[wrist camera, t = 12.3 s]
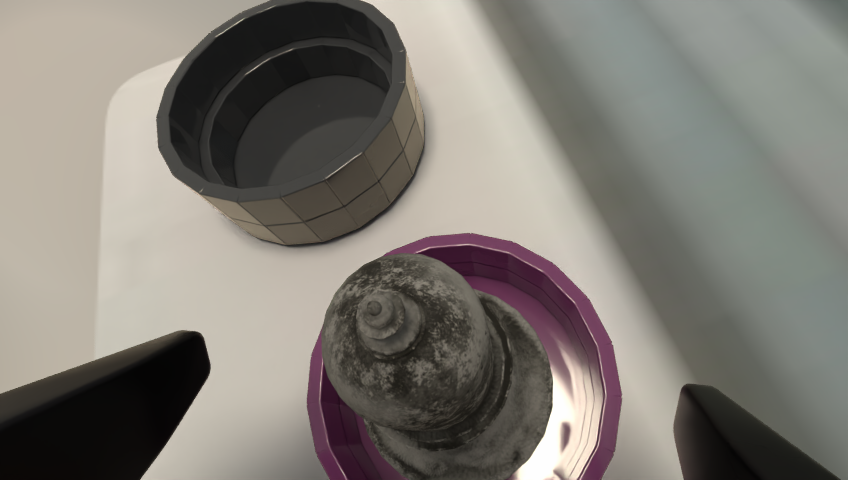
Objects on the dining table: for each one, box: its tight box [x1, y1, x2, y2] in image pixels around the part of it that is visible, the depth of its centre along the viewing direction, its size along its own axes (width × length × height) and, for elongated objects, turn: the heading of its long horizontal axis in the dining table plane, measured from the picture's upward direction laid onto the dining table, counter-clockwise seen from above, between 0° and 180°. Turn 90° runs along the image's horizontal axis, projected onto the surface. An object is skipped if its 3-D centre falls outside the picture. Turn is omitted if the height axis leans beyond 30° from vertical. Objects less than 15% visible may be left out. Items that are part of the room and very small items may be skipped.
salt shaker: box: [321, 253, 553, 480], centre depth 11 cm, size 6×6×12 cm
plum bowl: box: [307, 233, 622, 480], centre depth 15 cm, size 10×10×4 cm
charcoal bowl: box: [156, 0, 424, 245], centre depth 21 cm, size 11×11×4 cm
